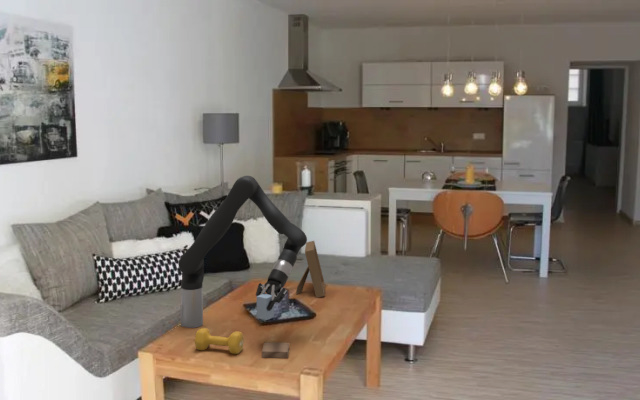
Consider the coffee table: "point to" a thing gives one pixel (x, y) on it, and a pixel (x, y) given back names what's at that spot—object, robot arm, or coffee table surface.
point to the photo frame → (312, 271)
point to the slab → (275, 350)
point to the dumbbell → (219, 340)
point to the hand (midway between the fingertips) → (262, 308)
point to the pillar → (264, 307)
